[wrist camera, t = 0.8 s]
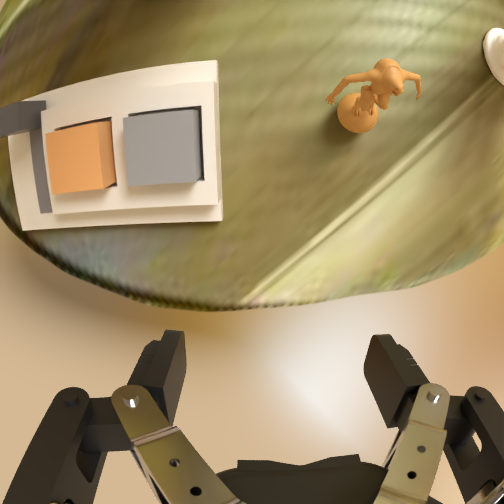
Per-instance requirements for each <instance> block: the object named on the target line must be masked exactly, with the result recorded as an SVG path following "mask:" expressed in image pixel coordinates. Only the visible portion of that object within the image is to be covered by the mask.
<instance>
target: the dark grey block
mask: <svg viewBox="0 0 504 504" xmlns="http://www.w3.org/2000/svg"><path fill="white" fill-rule="evenodd" d="M44 110H46V100H41V101H18V102H15V103H13V104H10V105H8V106H5V107H3V108H1V109H0V138H1V137H6V136H11V135H16V134H21V133H25V132H28V131H32V130H35V129H39V128H42V123H41V111H44Z"/></svg>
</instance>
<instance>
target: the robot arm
mask: <svg viewBox="0 0 504 504" xmlns="http://www.w3.org/2000/svg"><path fill="white" fill-rule="evenodd" d="M185 374H186V350H185V338H184V332H183V331H176V330H165V332H164V335H163V337H162V339H161V341H156V340H153V341H151V342H150V343H149V344H148V345H146V346H145V348H144V350H143V352H142V354H141V356H140V358H139V360H138V363H137V364H136V366H135V368H134V371H133V373H132V375H131V377H130V379H129V381H128V383H127V385H125V386H122V387H120V388H118V389H117V390H115V391H114V393H113V394H112V396H111V397H105V398H89V395H88V393H87V392H86V391H85V390H83V389H81V388H77V387H70V388H66V389H63V390H61V391H60V392H58V394H57V395H56V396H55V398H54V399H53V401H52V403H51V405H50V407H49V408H48V410H47V412H46V414H45V416H44V418H43V419H42V421H41V423H40V425H39V427H38V429H37V431H36V433H35V435H34V437H33V439H32V441H31V442H30V444H29V446H28V449H27V451H26V452H25V455H24V457H23V459H22V461H21V463H20V465H19V467H18V469H17V471H16V474H15V476H14V478H13V480H12V482H11V485H10V487H9V489H8V492H7V494H6V496H5V499H4V501H3V504H93V501H94V497H95V493H96V490H97V487H98V483H99V479H100V476H101V473H102V469H103V466H104V462H105V459H106V456H107V453H108V451H126V450H130V452H131V454H132V456H133V457H134V460H135V461H136V463H137V465H138V467H139V469H140V470H141V472H142V474H143V475H144V477H145V479H146V480H147V482H148V483H149V485H150V487H151V489H152V491H153V493H154V494H155V496H156V498H157V500H158V501H159V503H160V504H442V503H441V502H439V501H437V500H436V499H434V498H432V497H430V496H429V493H430V490H431V487H432V484H433V481H434V478H435V475H436V472H437V469H438V465H439V462H440V458H441V454H442V450H443V451H444V453H445V455H446V457H447V459H448V462H449V464H450V467H451V469H452V471H453V474H454V476H455V479H456V481H457V484H458V486H459V489H460V491H461V494H462V496H463V499H464V501H465V504H504V412H503V410H502V408H501V407H500V405H499V404H498V403H497V401H496V400H495V398H494V397H493V396H492V394H491V393H490V392H489V391H488V390H486V389H485V388H482V387H478V386H475V387H471V388H469V389H468V390H467V392H466V394H465V396H450V395H449V393H448V391H447V390H446V389H445V388H444V387H442V386H440V385H438V384H433V383H430V382H429V381H428V379H427V378H426V376H425V375H424V373H423V372H422V370H421V369H420V367H419V366H418V365H417V363H416V361H415V360H414V359H413V357H412V355H411V354H410V352H409V351H408V350H407V349H405V348H404V347H403V346H401V345H400V344H398V345H397V344H396V342H395V341H394V339H393V338H392V336H391V335H390V334H382V335H373V336H372V338H371V341H370V345H369V348H368V352H367V355H366V359H365V362H364V375H365V378H366V380H367V382H368V385H369V387H370V389H371V391H372V394H373V396H374V398H375V400H376V403H377V405H378V407H379V410H380V412H381V414H382V417H383V419H384V421H385V423H386V426H387V428H393V427H398V429H399V431H398V433H397V435H396V437H395V439H394V441H393V444H392V446H391V448H390V450H389V452H388V455H387V457H386V459H385V461H384V463H383V465H382V467H381V466H378V465H375V464H372V463H366V462H361V461H360V458H359V454H355V455H346V456H338V457H330V458H327V459H323V460H320V461H317V462H313V463H310V464H306V465H300V466H299V465H291V464H286V463H280V462H274V461H269V460H259V461H258V460H238V464H237V465H238V466H237V468H234V469H229V470H225V471H222V472H219V473H217V474H215V473H214V472H213V470H212V469H211V468H210V467H209V466H208V465H207V463H206V462H205V461H204V460H203V458H202V457H201V456H200V455H199V453H198V452H197V451H196V450H195V448H194V447H193V446H192V444H191V443H190V442H189V441H188V439H187V438H186V437H185V435H184V434H183V433H182V432H181V430H180V429H179V428H178V427H177V426H175V427H172V426H173V422H174V418H175V413H176V409H177V405H178V402H179V398H180V394H181V390H182V386H183V382H184V378H185ZM475 432H476V433H477V435H478V437H479V439H480V440H481V443H482V449H481V452H480V451H479V449H478V447H477V445H476V443H475V442H474V439H473V437H472V436H473V434H474V433H475Z"/></svg>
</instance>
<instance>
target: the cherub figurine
mask: <svg viewBox="0 0 504 504" xmlns="http://www.w3.org/2000/svg"><path fill="white" fill-rule="evenodd" d="M482 45H483V49H484V52H485V53H484V55H485V59H486V61H487V64H488V66H489V68H490V70H491V72H492V74H493V75H494V77H495V78H496V79H497V80H498V81H499V82H500V83H501V84H502V85H503V86H504V30H503V29H500V28H493V29H491V30H490V31H488V33H487V34H486V35H485V39H484V41H483V44H482Z"/></svg>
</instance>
